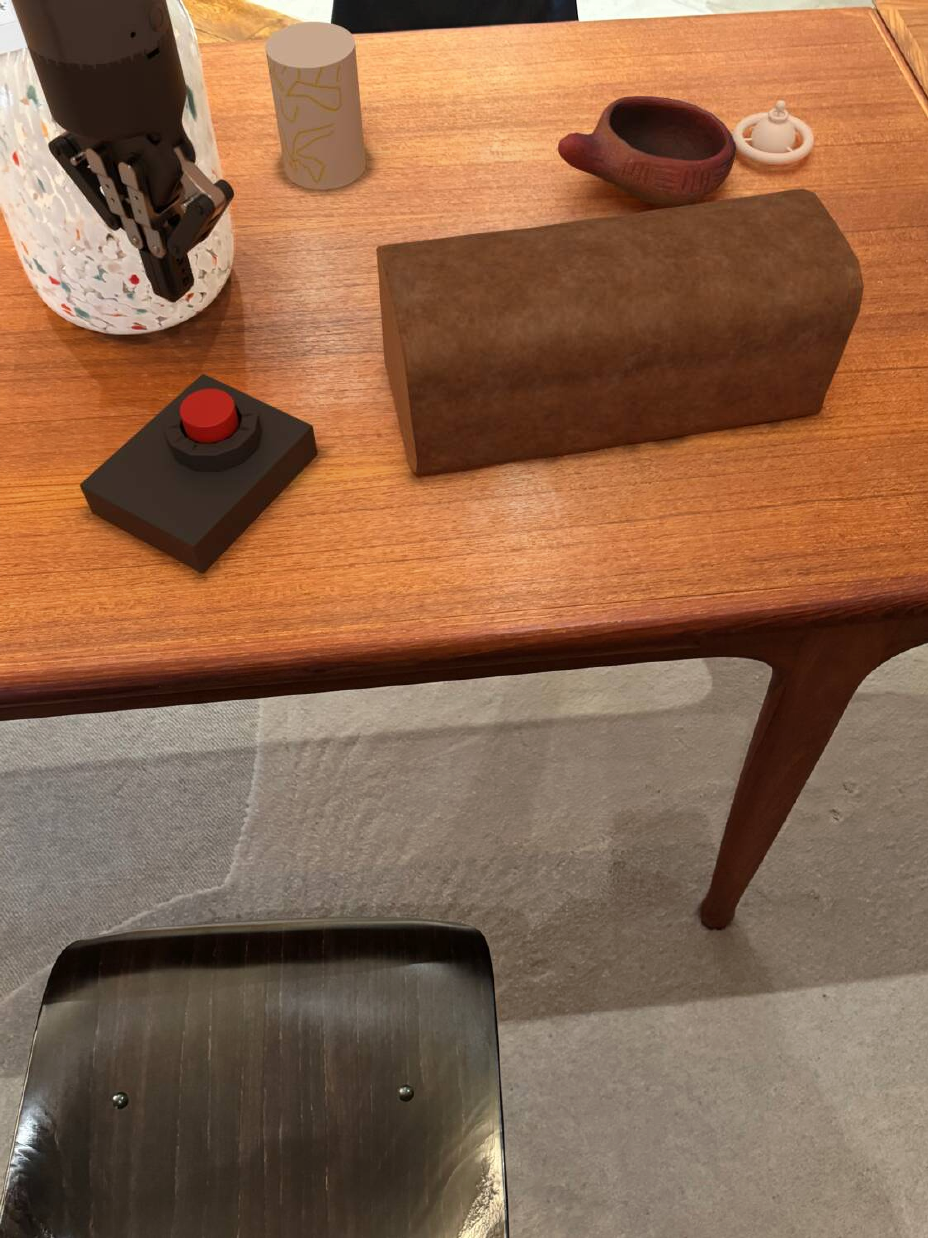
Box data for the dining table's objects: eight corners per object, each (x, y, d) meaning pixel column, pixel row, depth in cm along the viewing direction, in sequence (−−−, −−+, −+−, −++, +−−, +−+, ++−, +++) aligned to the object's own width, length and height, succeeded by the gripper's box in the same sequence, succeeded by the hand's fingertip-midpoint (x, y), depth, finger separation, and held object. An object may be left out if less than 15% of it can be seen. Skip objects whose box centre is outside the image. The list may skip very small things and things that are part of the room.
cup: (270, 178, 105) (249, 57, 95) (307, 135, 109) (291, 15, 99) (344, 196, 103) (330, 74, 93) (379, 152, 107) (369, 31, 97)
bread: (826, 420, 86) (882, 273, 74) (412, 485, 82) (402, 342, 70) (763, 308, 93) (805, 159, 82) (383, 364, 90) (369, 216, 78)
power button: (215, 451, 78) (210, 434, 76) (173, 430, 79) (168, 413, 78) (249, 418, 80) (245, 400, 78) (208, 398, 81) (203, 381, 79)
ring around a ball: (712, 149, 107) (766, 188, 104) (722, 95, 103) (778, 134, 99) (772, 122, 110) (826, 159, 106) (784, 68, 105) (841, 105, 101)
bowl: (640, 138, 108) (651, 60, 102) (749, 185, 104) (767, 106, 97) (545, 212, 102) (549, 133, 95) (656, 266, 97) (669, 187, 90)
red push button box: (202, 574, 77) (187, 530, 73) (91, 512, 81) (71, 468, 76) (318, 454, 84) (310, 408, 80) (210, 402, 87) (197, 355, 83)
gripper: (-48, 17, 55) (60, 289, 70) (142, 88, 51) (215, 362, 66) (55, -41, 59) (138, 229, 73) (240, 21, 55) (290, 294, 69)
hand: (174, 291), depth 69 cm, fingers closed
